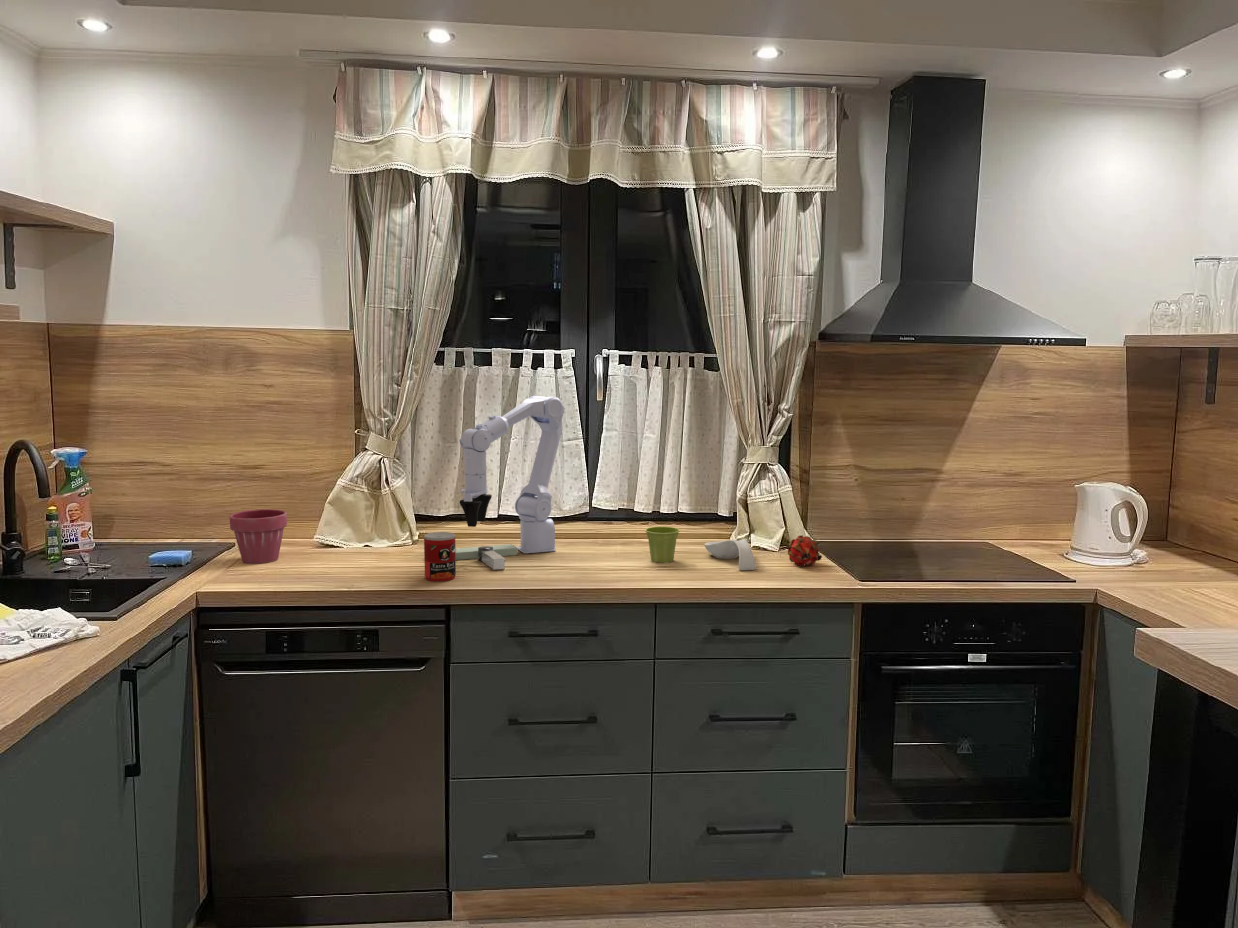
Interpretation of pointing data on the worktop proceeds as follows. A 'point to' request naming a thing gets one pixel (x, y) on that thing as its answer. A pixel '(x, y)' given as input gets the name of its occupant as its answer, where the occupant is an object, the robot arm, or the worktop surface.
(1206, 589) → the worktop surface
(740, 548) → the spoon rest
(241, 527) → the plant pot
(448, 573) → the canned food
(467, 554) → the pale green flat bar
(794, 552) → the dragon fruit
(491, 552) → the latch bar
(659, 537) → the plant pot
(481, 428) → the robot arm
